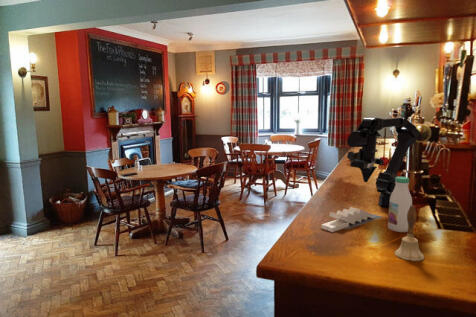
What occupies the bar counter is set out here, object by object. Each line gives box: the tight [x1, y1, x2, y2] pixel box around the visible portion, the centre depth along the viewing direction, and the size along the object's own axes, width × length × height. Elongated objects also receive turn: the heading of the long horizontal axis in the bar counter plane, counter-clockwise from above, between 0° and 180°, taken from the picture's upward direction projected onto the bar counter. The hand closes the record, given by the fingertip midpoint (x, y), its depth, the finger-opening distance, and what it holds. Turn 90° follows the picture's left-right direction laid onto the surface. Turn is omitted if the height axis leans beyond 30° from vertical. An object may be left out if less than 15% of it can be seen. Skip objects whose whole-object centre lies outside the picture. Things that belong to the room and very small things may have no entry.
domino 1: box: [328, 211, 355, 224], centre depth 136 cm, size 2×5×10 cm
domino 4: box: [342, 208, 367, 220], centre depth 141 cm, size 2×5×10 cm
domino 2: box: [320, 219, 349, 233], centre depth 134 cm, size 2×5×10 cm
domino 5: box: [348, 206, 374, 218], centre depth 143 cm, size 2×5×10 cm
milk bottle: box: [387, 176, 413, 233], centre depth 131 cm, size 8×8×20 cm
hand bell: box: [394, 205, 425, 262], centre depth 108 cm, size 8×8×16 cm
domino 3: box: [336, 210, 362, 222], centre depth 138 cm, size 2×5×10 cm
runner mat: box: [344, 213, 383, 230], centre depth 142 cm, size 24×8×1 cm, turn 127°
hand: (365, 182), depth 154 cm, fingers closed
